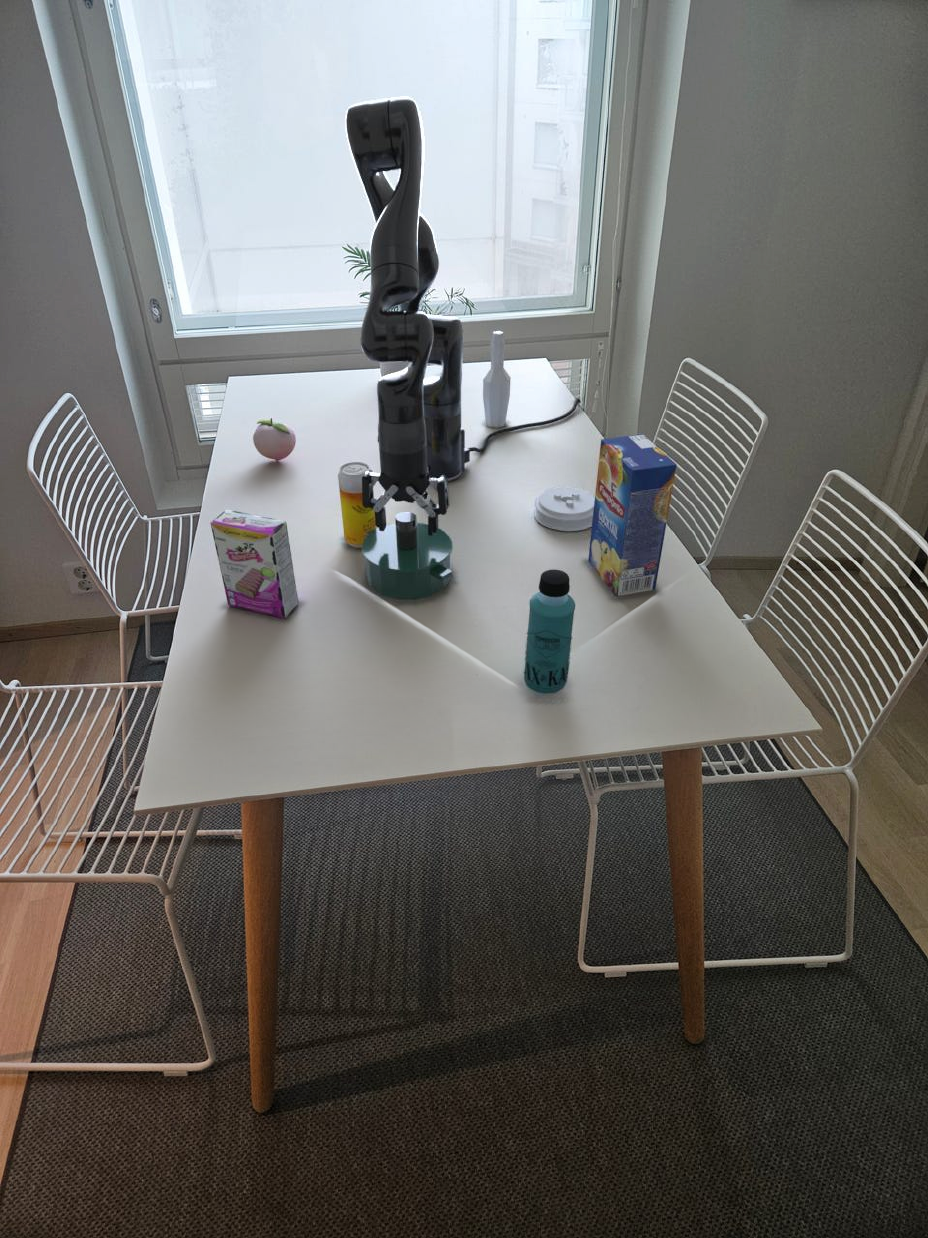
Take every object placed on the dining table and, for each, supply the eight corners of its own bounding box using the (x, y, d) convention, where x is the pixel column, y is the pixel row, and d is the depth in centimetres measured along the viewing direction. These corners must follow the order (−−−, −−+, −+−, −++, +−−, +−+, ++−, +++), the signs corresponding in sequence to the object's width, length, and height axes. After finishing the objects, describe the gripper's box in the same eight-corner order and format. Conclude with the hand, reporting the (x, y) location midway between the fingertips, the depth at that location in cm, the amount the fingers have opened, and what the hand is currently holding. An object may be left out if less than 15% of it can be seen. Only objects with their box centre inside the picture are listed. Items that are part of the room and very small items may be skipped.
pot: (403, 542, 152) (401, 512, 148) (478, 584, 140) (478, 554, 137) (341, 572, 144) (338, 541, 140) (416, 619, 132) (414, 588, 128)
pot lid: (411, 519, 147) (410, 486, 143) (471, 551, 138) (471, 517, 134) (343, 550, 139) (340, 516, 135) (403, 587, 130) (401, 551, 126)
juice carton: (655, 591, 138) (677, 464, 124) (615, 598, 137) (632, 470, 122) (625, 556, 148) (642, 433, 133) (587, 562, 146) (600, 439, 132)
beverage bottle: (519, 675, 121) (526, 563, 109) (563, 672, 121) (574, 561, 109) (526, 704, 116) (533, 590, 104) (571, 701, 116) (584, 588, 104)
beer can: (371, 550, 149) (365, 477, 140) (340, 547, 150) (332, 474, 141) (380, 534, 154) (375, 462, 145) (350, 531, 155) (343, 459, 146)
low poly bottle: (513, 422, 197) (517, 331, 184) (500, 431, 193) (503, 338, 180) (491, 416, 200) (493, 326, 187) (477, 425, 195) (479, 333, 182)
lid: (606, 511, 161) (608, 488, 158) (586, 541, 152) (588, 517, 149) (546, 498, 165) (548, 476, 162) (524, 526, 156) (525, 504, 153)
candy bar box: (226, 607, 135) (207, 522, 125) (242, 591, 139) (225, 507, 129) (285, 620, 132) (271, 534, 122) (300, 603, 136) (287, 518, 126)
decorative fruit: (248, 465, 178) (241, 422, 172) (269, 450, 184) (262, 408, 178) (285, 472, 175) (278, 429, 169) (304, 457, 181) (299, 415, 175)
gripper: (451, 435, 128) (452, 523, 138) (365, 429, 130) (372, 516, 140) (442, 455, 122) (443, 546, 132) (352, 448, 125) (360, 538, 134)
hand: (407, 531), depth 136 cm, fingers open, 8 cm apart
